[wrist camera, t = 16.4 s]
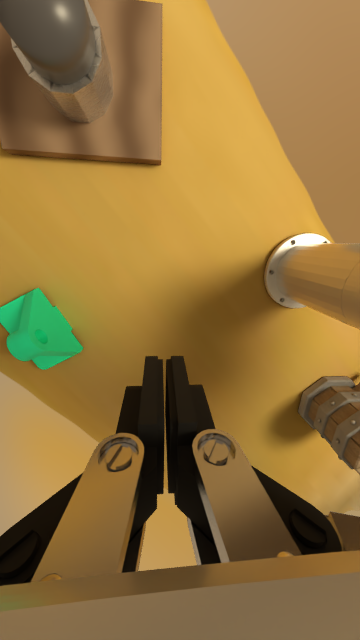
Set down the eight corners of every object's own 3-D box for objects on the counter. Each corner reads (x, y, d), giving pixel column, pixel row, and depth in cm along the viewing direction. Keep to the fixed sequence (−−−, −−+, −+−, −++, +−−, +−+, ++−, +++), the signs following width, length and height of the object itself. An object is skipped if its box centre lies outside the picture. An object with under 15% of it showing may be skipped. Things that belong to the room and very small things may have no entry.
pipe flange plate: (162, 20, 27) (163, -65, 20) (161, 164, 32) (161, 141, 25) (-16, -4, 25) (-90, -107, 18) (11, 154, 30) (-37, 125, 23)
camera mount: (2, 307, 37) (-53, 330, 27) (42, 286, 36) (0, 302, 27) (48, 363, 41) (15, 401, 31) (85, 345, 40) (62, 378, 31)
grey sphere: (99, 20, 23) (76, -67, 17) (104, 105, 26) (86, 58, 19) (28, 11, 23) (-26, -84, 16) (39, 99, 25) (-4, 48, 18)
